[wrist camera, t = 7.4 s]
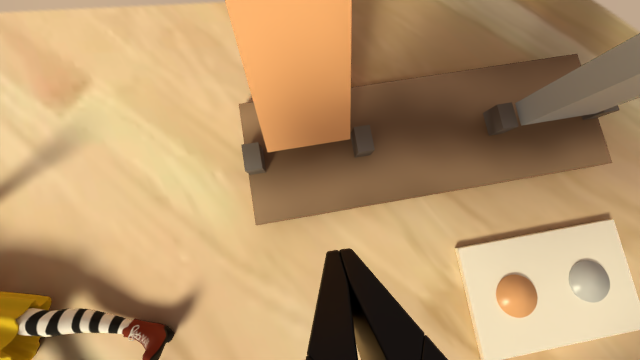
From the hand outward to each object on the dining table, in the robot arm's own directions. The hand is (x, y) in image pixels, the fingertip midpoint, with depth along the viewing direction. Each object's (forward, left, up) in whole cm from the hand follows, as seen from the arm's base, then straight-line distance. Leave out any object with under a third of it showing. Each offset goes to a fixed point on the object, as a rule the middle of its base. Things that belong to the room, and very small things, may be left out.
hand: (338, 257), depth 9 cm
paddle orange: (+4, +5, -7) cm, 9 cm away
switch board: (+10, -1, -9) cm, 13 cm away
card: (+7, -13, -9) cm, 17 cm away
